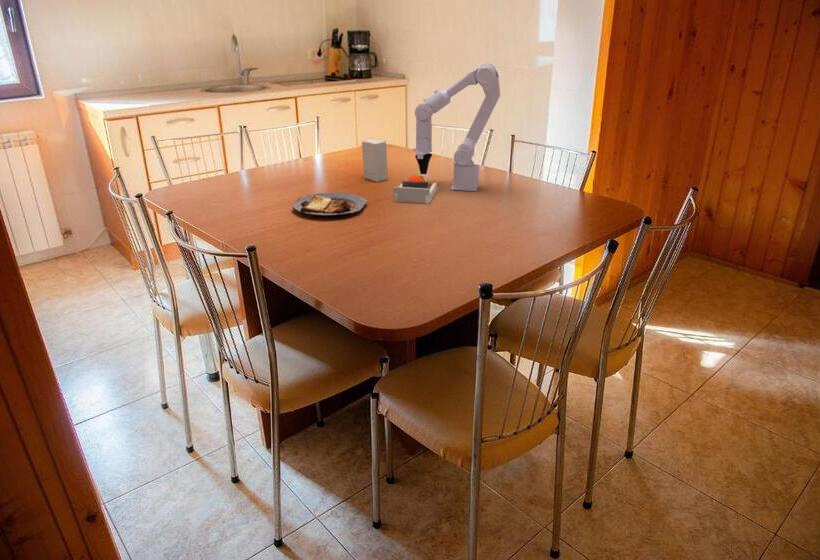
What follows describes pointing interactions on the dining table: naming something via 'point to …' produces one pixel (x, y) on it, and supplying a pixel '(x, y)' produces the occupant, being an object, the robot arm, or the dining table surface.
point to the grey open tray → (414, 194)
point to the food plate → (321, 202)
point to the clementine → (416, 178)
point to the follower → (415, 184)
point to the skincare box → (375, 160)
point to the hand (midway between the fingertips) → (423, 173)
